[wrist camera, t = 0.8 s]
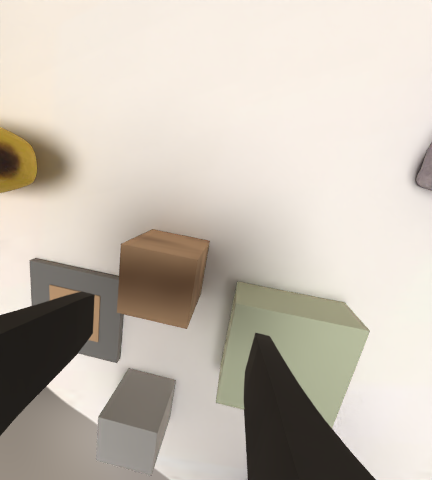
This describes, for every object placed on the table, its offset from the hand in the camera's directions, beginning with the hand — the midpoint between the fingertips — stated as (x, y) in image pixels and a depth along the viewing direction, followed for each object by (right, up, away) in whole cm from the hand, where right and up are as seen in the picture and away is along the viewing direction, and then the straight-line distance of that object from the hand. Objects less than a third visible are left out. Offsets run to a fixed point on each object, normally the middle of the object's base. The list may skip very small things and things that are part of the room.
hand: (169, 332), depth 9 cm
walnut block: (-1, +2, +10) cm, 10 cm away
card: (-11, -3, +12) cm, 17 cm away
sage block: (+8, -5, +10) cm, 14 cm away
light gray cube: (-5, -12, +13) cm, 19 cm away
